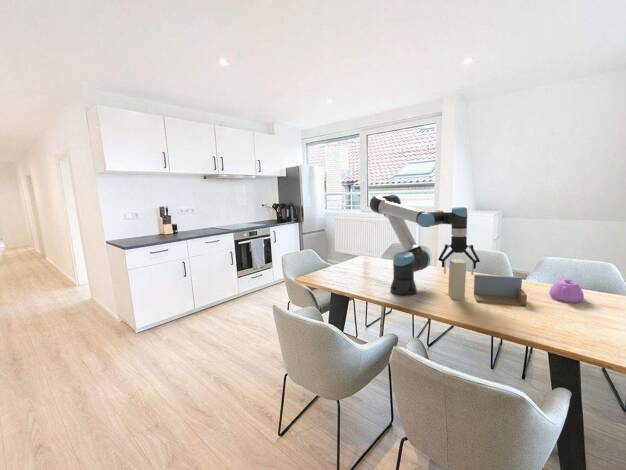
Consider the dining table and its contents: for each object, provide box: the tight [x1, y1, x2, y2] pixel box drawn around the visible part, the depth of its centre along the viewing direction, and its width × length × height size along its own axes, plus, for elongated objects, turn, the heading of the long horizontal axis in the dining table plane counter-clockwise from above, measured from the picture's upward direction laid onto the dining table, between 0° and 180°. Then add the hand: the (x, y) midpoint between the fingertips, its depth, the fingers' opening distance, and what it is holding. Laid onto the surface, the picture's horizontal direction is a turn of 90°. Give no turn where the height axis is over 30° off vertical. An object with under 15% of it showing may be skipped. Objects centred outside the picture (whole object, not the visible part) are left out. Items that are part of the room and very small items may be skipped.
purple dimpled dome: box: [548, 278, 585, 304], centre depth 154 cm, size 14×20×11 cm
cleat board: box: [473, 273, 528, 308], centre depth 156 cm, size 22×12×12 cm, turn 68°
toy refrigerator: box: [448, 258, 467, 301], centre depth 162 cm, size 8×7×21 cm
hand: (458, 273), depth 161 cm, fingers open, 13 cm apart
